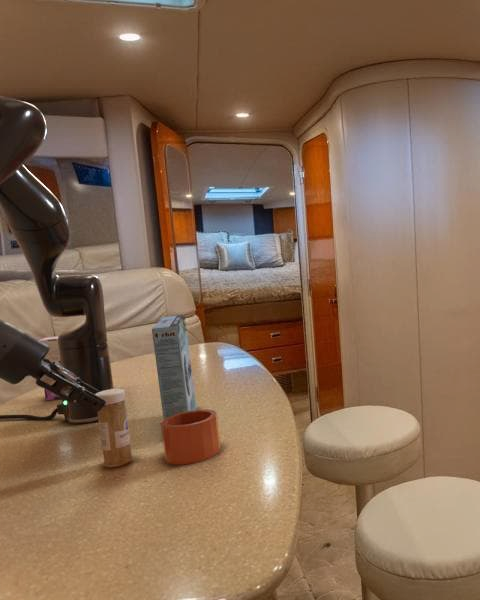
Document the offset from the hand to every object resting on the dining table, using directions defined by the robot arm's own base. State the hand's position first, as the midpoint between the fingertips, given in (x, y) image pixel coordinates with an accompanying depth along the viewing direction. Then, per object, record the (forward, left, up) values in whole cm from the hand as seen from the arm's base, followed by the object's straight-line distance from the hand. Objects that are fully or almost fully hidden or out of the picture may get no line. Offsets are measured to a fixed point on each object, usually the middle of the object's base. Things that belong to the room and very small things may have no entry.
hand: (98, 401), depth 90 cm
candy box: (-45, +43, -12) cm, 63 cm away
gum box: (0, +21, -12) cm, 24 cm away
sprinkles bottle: (+1, +1, -12) cm, 12 cm away
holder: (+13, +5, -12) cm, 19 cm away
